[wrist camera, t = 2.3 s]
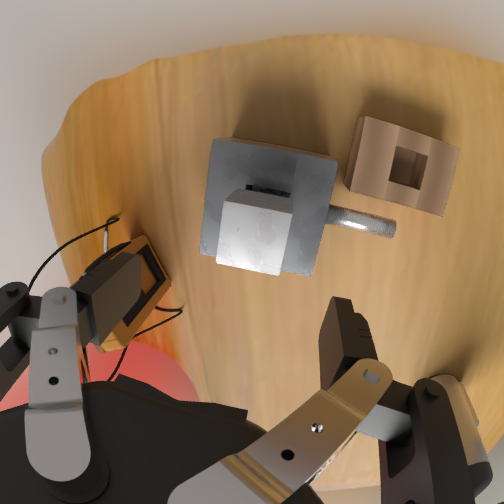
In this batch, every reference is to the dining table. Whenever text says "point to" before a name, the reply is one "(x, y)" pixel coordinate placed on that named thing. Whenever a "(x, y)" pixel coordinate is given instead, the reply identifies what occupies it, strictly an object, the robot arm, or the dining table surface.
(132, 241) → the multimeter
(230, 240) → the grey square peg
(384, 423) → the robot arm
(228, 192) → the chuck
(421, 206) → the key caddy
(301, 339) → the dining table surface
